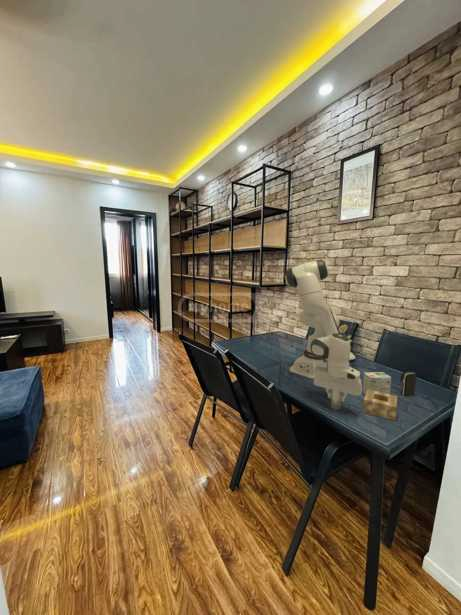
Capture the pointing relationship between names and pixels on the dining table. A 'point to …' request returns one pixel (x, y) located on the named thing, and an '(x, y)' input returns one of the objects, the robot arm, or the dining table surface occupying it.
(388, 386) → the light bulb box
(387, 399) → the socket block
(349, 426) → the dining table surface
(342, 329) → the flower in vase
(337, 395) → the steel peg
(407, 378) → the battery charger
